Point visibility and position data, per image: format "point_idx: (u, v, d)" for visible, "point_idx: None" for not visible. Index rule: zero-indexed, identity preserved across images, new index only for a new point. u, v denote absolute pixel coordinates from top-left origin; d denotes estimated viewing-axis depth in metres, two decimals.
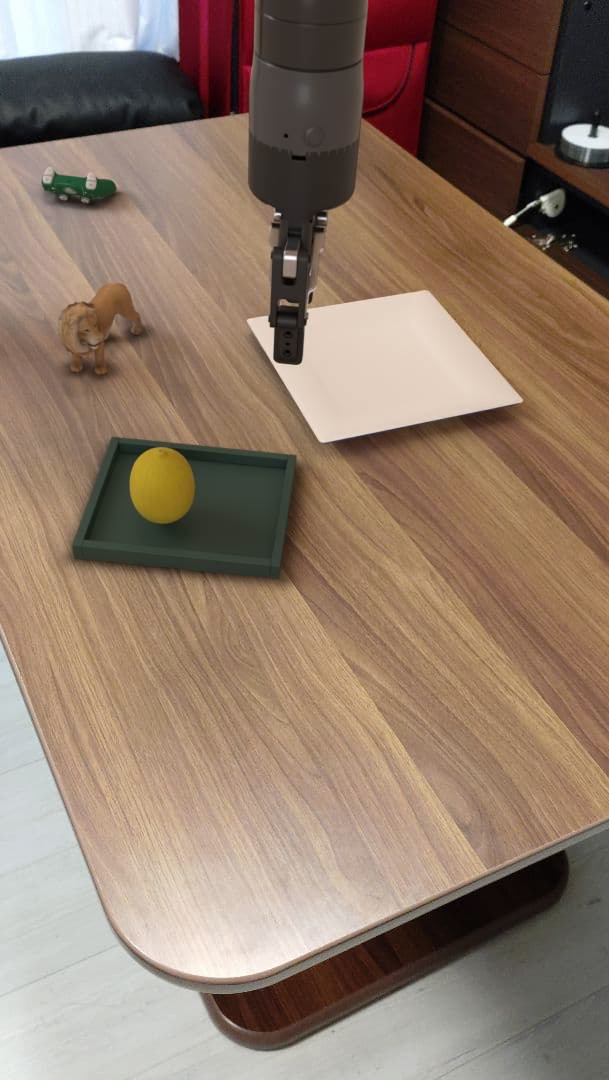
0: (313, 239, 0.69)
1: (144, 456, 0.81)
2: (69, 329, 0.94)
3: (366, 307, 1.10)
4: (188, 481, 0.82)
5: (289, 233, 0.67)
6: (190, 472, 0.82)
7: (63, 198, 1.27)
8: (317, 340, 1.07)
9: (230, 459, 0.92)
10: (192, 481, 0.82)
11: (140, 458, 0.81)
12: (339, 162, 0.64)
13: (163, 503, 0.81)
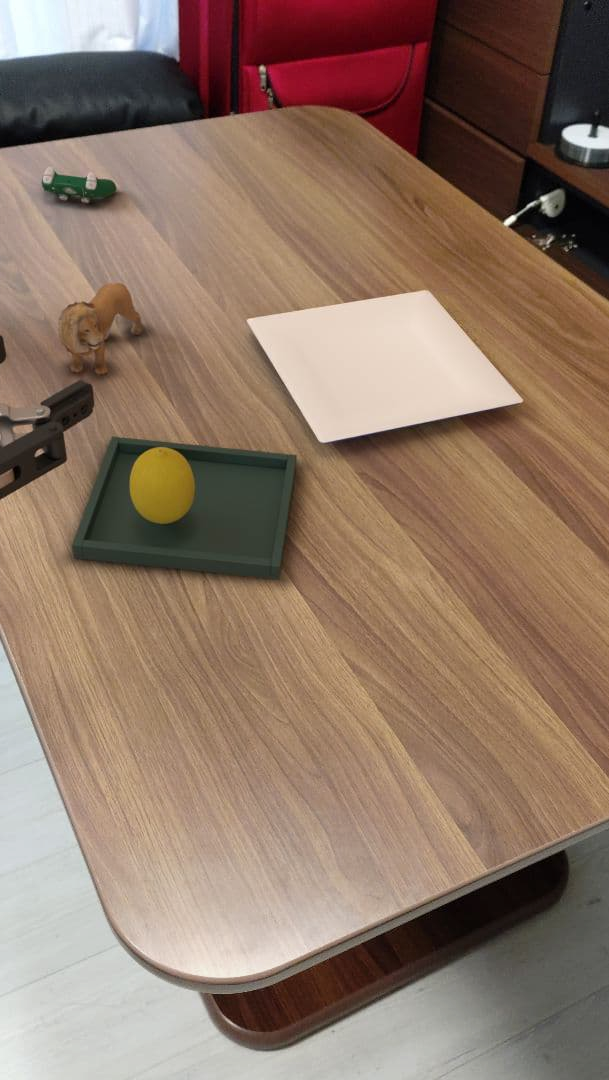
0: None
1: (144, 456, 0.81)
2: (69, 330, 0.94)
3: (366, 307, 1.10)
4: (188, 481, 0.82)
5: None
6: (190, 472, 0.82)
7: (63, 198, 1.27)
8: (317, 340, 1.07)
9: (230, 459, 0.92)
10: (192, 481, 0.82)
11: (140, 458, 0.81)
12: None
13: (163, 503, 0.81)
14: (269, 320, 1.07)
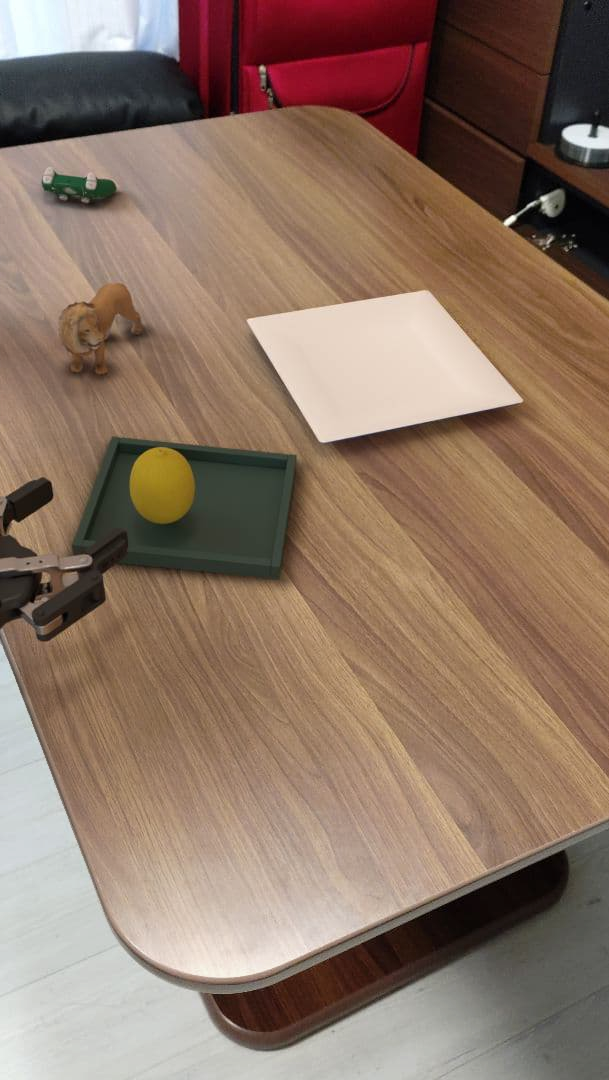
0: None
1: (144, 456, 0.81)
2: (70, 330, 0.94)
3: (366, 307, 1.10)
4: (188, 481, 0.82)
5: None
6: (190, 472, 0.82)
7: (63, 198, 1.27)
8: (317, 340, 1.07)
9: (230, 459, 0.92)
10: (192, 481, 0.82)
11: (140, 458, 0.81)
12: None
13: (163, 503, 0.81)
14: (269, 320, 1.07)
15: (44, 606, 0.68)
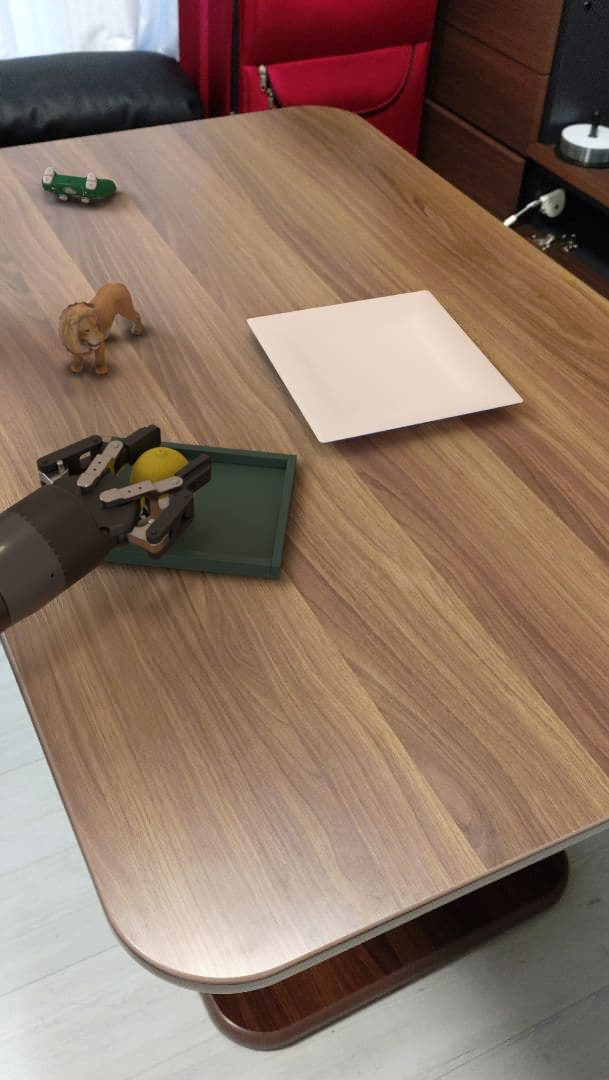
0: None
1: (144, 456, 0.81)
2: (70, 329, 0.94)
3: (366, 307, 1.10)
4: None
5: None
6: None
7: (63, 198, 1.27)
8: (317, 340, 1.07)
9: (230, 459, 0.92)
10: None
11: (140, 458, 0.81)
12: None
13: None
14: (269, 320, 1.07)
15: (154, 526, 0.74)
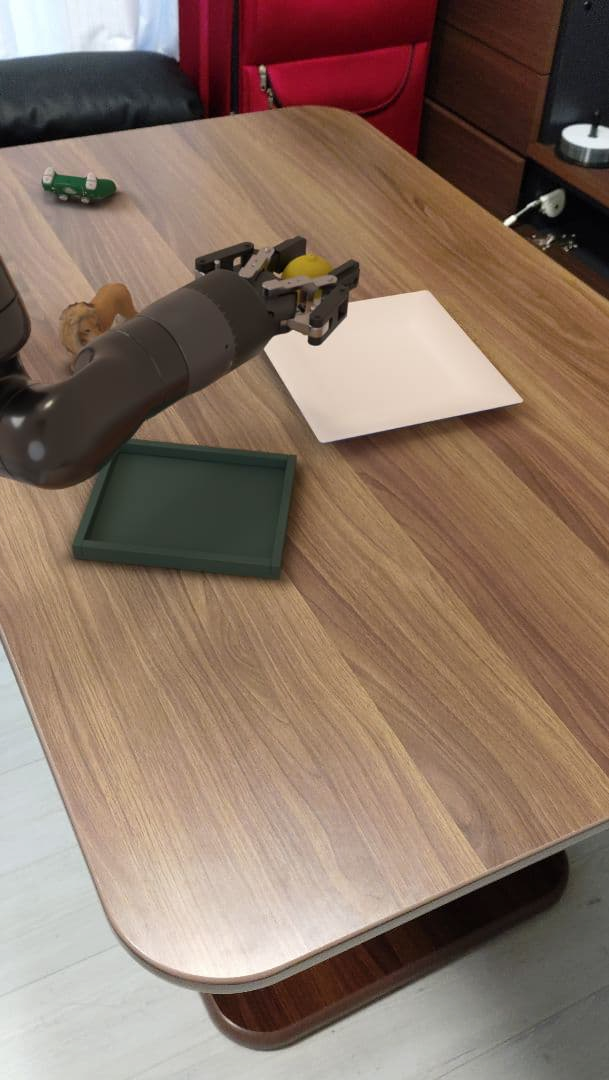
0: None
1: (295, 261, 0.84)
2: (70, 330, 0.94)
3: (366, 307, 1.10)
4: None
5: None
6: None
7: (63, 198, 1.27)
8: None
9: (230, 459, 0.92)
10: None
11: (291, 263, 0.84)
12: None
13: None
14: None
15: (316, 311, 0.77)
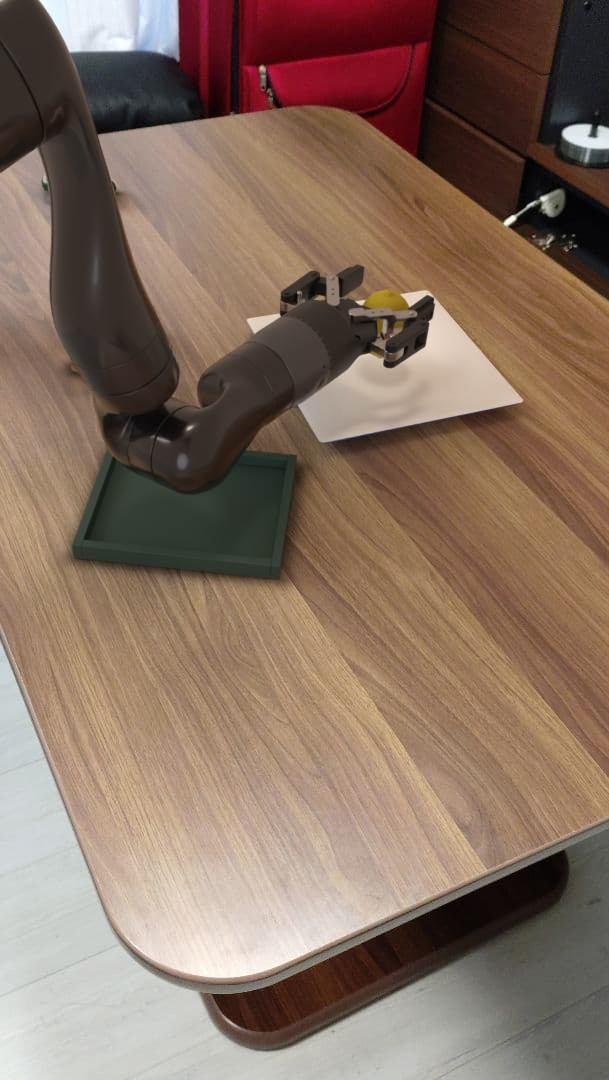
0: None
1: (374, 296, 0.98)
2: None
3: None
4: None
5: None
6: None
7: None
8: None
9: None
10: None
11: (370, 298, 0.98)
12: None
13: None
14: (269, 319, 1.07)
15: (393, 339, 0.90)
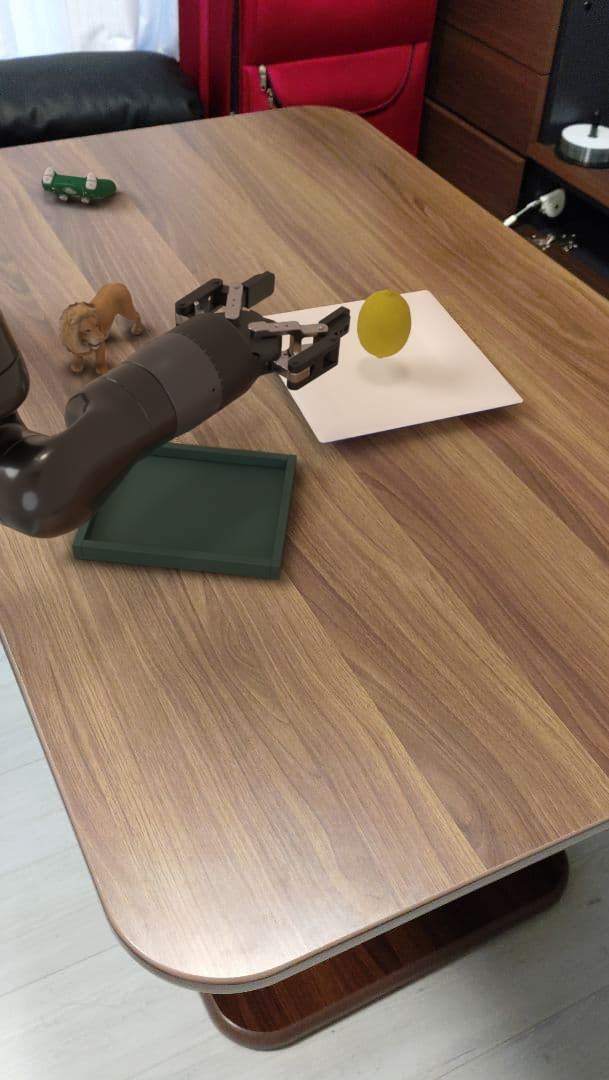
0: None
1: (374, 296, 0.98)
2: (70, 330, 0.94)
3: None
4: (409, 317, 0.98)
5: None
6: None
7: (63, 198, 1.27)
8: None
9: (230, 459, 0.92)
10: None
11: (370, 298, 0.98)
12: None
13: (390, 335, 0.98)
14: None
15: (297, 357, 0.79)
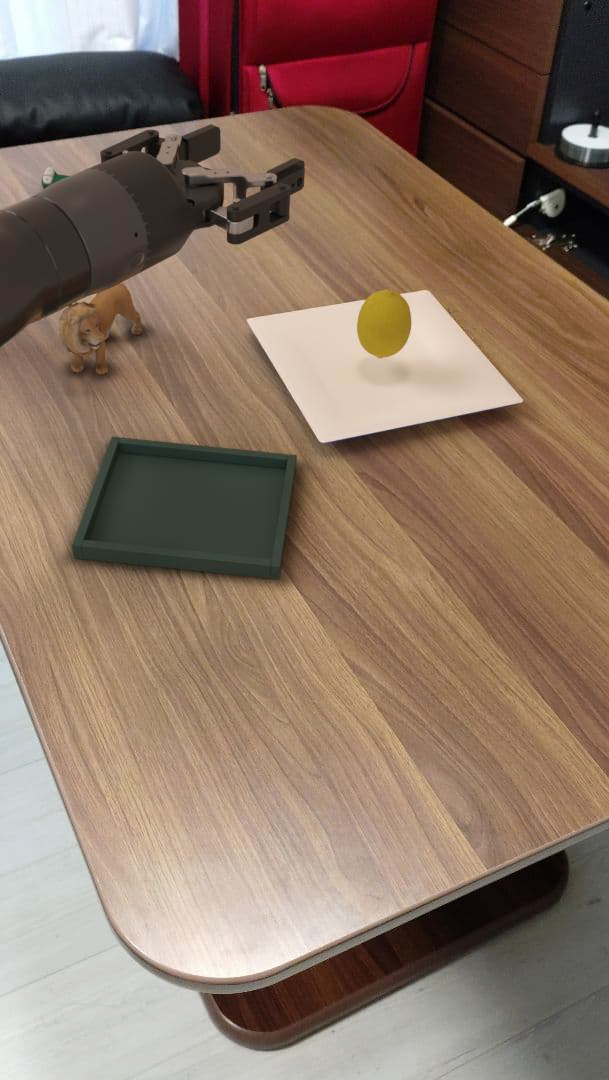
0: None
1: (374, 296, 0.98)
2: (70, 330, 0.94)
3: None
4: (409, 317, 0.98)
5: None
6: None
7: None
8: (317, 340, 1.07)
9: (230, 459, 0.92)
10: None
11: (370, 298, 0.98)
12: None
13: (390, 335, 0.98)
14: (269, 319, 1.07)
15: (238, 204, 0.67)
